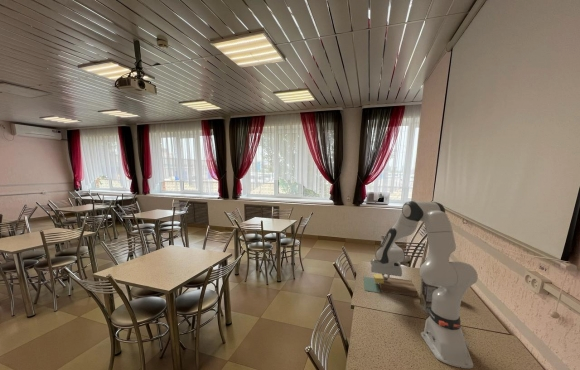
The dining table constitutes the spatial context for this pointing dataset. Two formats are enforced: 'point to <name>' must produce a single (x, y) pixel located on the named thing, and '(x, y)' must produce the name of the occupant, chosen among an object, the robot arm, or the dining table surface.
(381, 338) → the dining table surface
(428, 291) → the coffee box
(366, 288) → the mat
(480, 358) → the dining table surface
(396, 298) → the dining table surface
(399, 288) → the board
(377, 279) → the yellow block
